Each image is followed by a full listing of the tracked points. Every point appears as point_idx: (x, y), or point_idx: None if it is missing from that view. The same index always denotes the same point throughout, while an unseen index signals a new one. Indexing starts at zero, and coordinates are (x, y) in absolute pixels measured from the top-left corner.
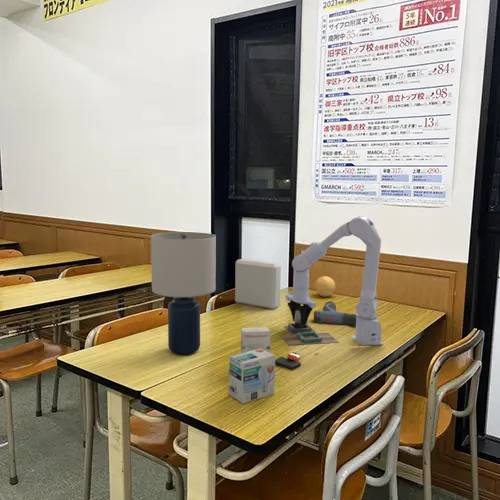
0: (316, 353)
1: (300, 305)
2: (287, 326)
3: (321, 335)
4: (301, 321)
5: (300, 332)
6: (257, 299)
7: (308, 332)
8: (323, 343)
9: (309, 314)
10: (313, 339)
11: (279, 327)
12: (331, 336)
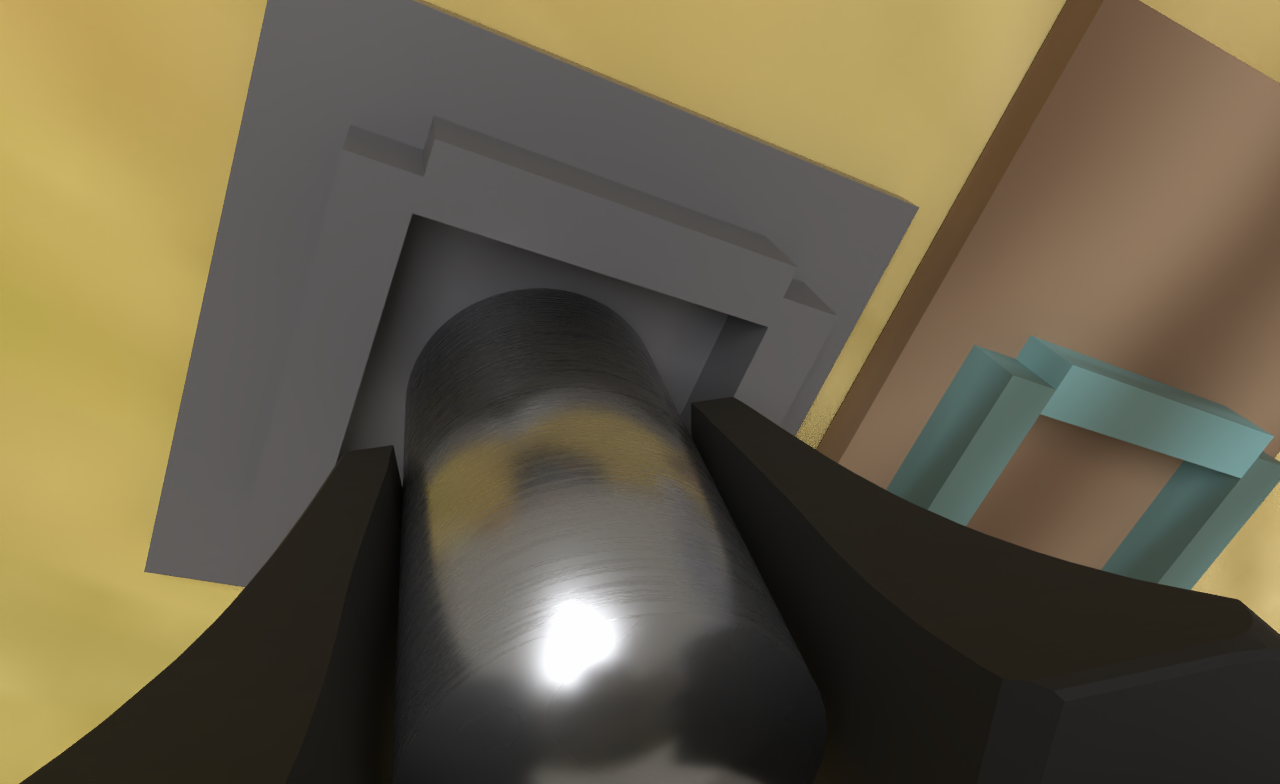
0: None
1: (310, 766)
2: (215, 508)
3: (1095, 251)
4: None
5: None
6: None
7: (963, 500)
8: (1275, 438)
9: (921, 513)
10: (1184, 576)
11: (112, 597)
12: (1273, 109)
